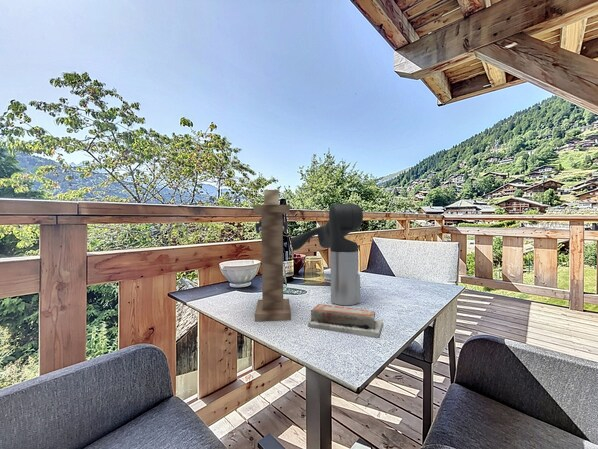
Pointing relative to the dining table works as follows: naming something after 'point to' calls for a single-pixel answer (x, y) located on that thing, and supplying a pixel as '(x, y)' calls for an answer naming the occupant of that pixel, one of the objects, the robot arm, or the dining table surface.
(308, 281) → the dining table surface
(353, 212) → the robot arm
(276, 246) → the stand
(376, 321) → the red and grey block
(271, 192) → the beige wooden bar
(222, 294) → the dining table surface
